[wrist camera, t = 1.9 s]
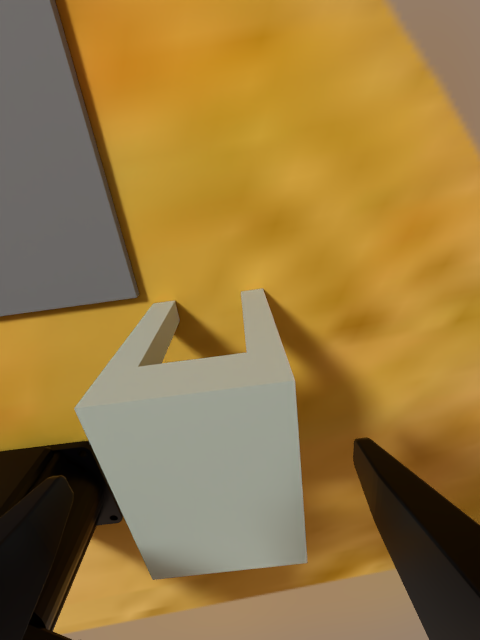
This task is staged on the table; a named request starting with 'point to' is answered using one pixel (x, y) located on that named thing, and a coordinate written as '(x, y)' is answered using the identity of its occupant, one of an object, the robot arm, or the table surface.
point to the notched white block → (202, 448)
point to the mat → (51, 176)
